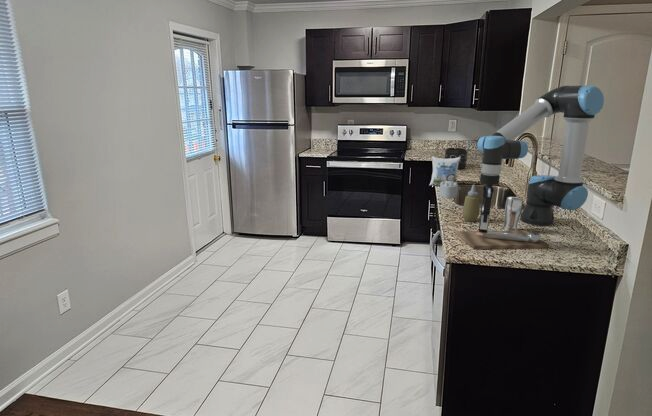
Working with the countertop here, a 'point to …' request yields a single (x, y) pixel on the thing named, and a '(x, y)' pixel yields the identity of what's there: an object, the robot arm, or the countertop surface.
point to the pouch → (444, 170)
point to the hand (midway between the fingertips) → (483, 227)
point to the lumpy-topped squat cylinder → (448, 189)
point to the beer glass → (512, 213)
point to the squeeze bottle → (471, 205)
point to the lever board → (497, 241)
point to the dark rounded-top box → (455, 154)
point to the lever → (509, 234)
